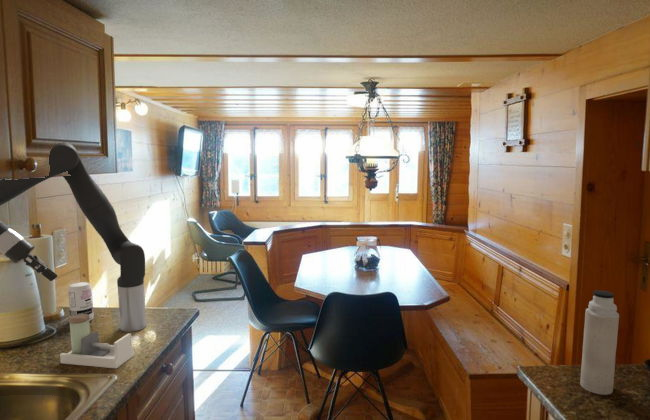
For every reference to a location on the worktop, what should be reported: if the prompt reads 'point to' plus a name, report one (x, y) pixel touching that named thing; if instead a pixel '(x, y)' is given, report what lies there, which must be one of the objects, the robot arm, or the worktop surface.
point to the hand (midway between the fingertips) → (54, 278)
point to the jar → (78, 331)
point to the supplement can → (81, 299)
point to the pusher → (93, 345)
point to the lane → (112, 359)
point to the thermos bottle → (599, 344)
